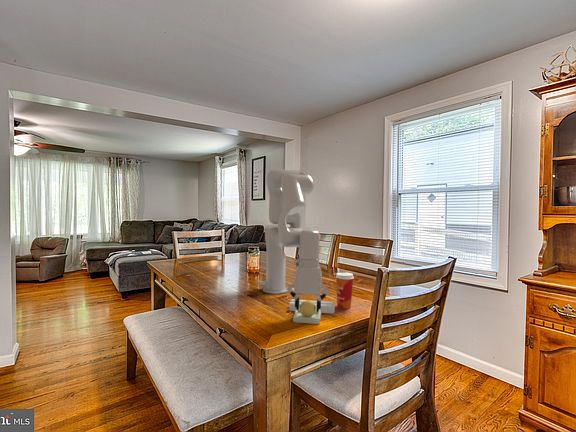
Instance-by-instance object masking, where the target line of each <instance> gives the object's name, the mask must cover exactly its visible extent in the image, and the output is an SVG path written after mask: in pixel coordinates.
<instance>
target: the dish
mask: <svg viewBox="0 0 576 432" xmlns="http://www.w3.org/2000/svg"><path fill="white" fill-rule="evenodd" d="M321 318H322V313H321V310H319V312H317V310H315V313H314V315H312V316H311V317H305V316H303V315H302V314H301V312H300V309H299V310H298V311H297V310H296V311H294V315H293V318H292V319H293V320H292V321H293V323H298V324H299V323H300V324H301V323H302V324H303V323H304V324H315V325H320V323H321Z"/></svg>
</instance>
